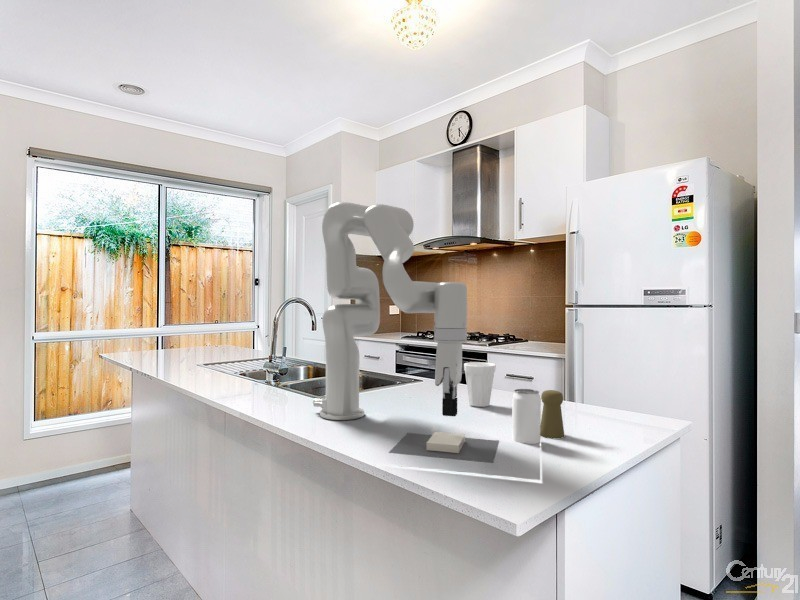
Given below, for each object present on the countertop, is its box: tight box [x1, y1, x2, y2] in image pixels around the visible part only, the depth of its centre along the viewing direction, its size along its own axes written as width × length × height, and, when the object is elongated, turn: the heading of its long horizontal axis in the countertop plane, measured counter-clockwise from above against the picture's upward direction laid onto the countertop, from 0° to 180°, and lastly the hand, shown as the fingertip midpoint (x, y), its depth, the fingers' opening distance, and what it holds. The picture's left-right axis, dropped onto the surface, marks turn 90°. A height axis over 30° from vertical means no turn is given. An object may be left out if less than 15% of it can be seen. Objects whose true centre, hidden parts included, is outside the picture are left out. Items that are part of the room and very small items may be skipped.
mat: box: [388, 432, 500, 464], centre depth 109 cm, size 22×16×1 cm
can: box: [511, 388, 542, 445], centre depth 115 cm, size 6×6×12 cm
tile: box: [427, 431, 466, 453], centre depth 109 cm, size 7×2×9 cm
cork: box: [540, 389, 565, 439], centre depth 121 cm, size 6×6×11 cm
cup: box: [463, 361, 496, 408], centre depth 154 cm, size 10×10×13 cm
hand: (449, 415), depth 113 cm, fingers closed
